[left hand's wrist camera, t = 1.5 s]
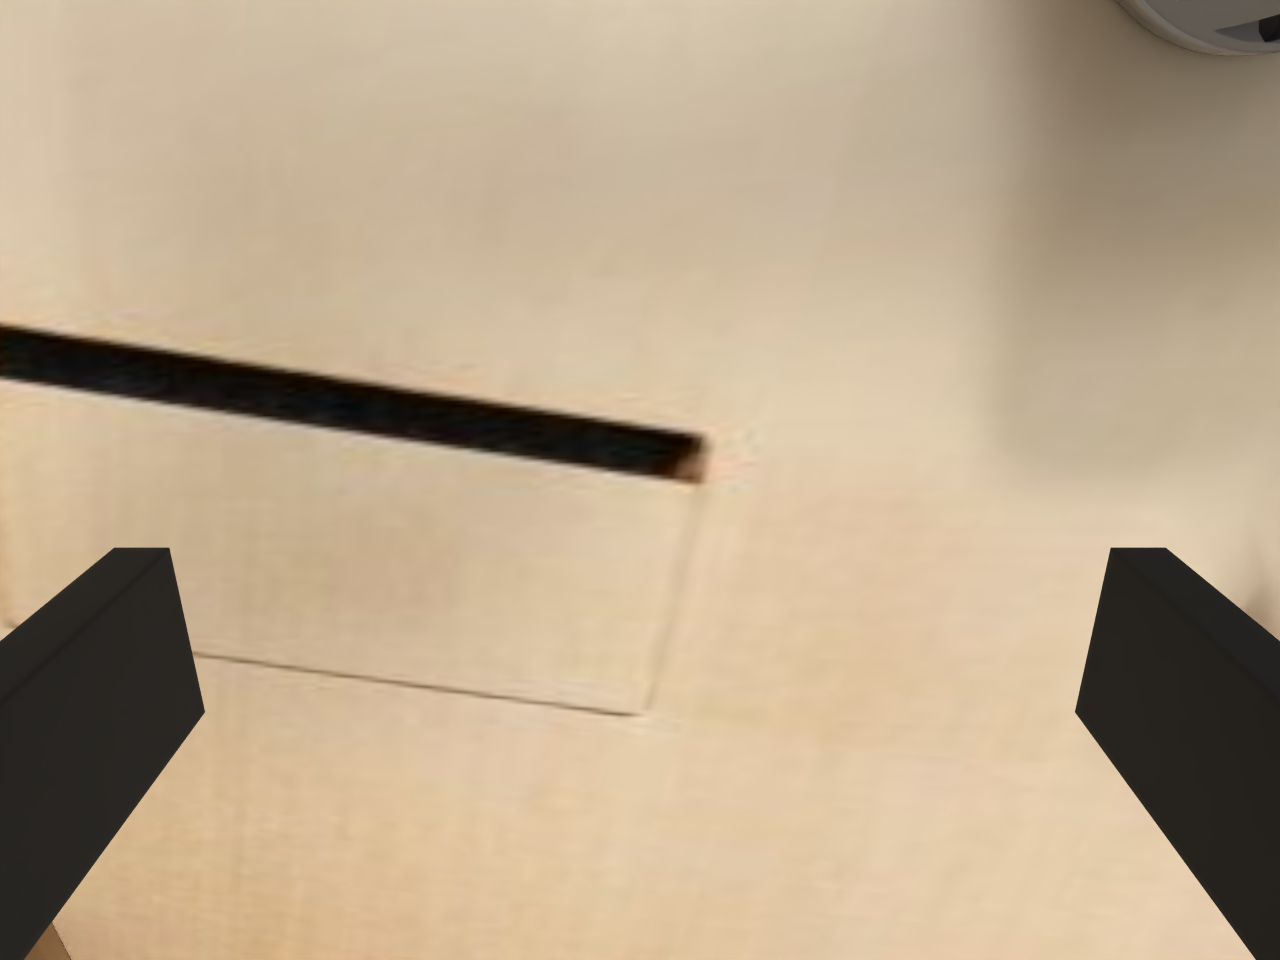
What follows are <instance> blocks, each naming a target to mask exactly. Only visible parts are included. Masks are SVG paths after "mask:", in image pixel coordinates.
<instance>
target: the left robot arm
mask: <svg viewBox="0 0 1280 960" xmlns="http://www.w3.org/2000/svg"><path fill="white" fill-rule="evenodd" d="M1116 1H1117V2H1118V3H1119V4H1120V5H1121V6H1122V7H1123V8H1124V10H1125V11H1126V12H1127V13H1128V14H1129V15H1130V16H1131V17H1132V18H1134V19H1135V20H1136V21H1137V22H1138V23H1139V24H1141V25H1142V26H1143V27H1144V28H1146V29H1147V30H1149V31H1150V32H1152V33H1154V34H1155V35H1157V36H1158V37H1160V38H1162V39H1164V40H1166V41H1168V42H1170V43H1172V44H1174V45H1177V46H1180V47H1183V48H1186V49H1189V50H1192V51H1197V52H1201V53H1206V54H1213V55H1224V56H1241V55H1254V54H1264V53H1273V52H1280V0H1116ZM204 713H205V710H204V705H203V701H202V696H201V691H200V687H199V682H198V678H197V673H196V668H195V664H194V659H193V655H192V650H191V646H190V641H189V636H188V632H187V627H186V623H185V618H184V613H183V609H182V604H181V600H180V595H179V590H178V586H177V581H176V577H175V572H174V567H173V563H172V558H171V554H170V549H169V548H113V549H112V550H111V551H110V552H108V553H107V554H106V555H105V556H104V557H102V558H101V559H100V560H99V561H97V562H96V563H95V564H94V565H93V566H91V567H90V568H89V569H88V570H87V571H85V572H84V573H83V574H82V575H80V576H79V577H78V578H77V579H76V580H74V581H73V582H72V583H71V584H69V585H68V586H67V587H66V588H65V589H63V590H62V591H61V592H60V593H58V594H57V595H56V596H55V597H54V598H52V599H51V600H50V601H49V602H48V603H46V604H45V605H44V606H43V607H41V608H40V609H39V610H38V611H37V612H35V613H34V614H33V615H32V616H30V617H29V618H28V619H27V620H26V621H24V622H23V623H22V624H21V625H19V626H18V627H17V628H16V629H15V630H13V631H12V632H11V633H10V634H8V635H7V636H6V637H5V638H4V639H2V640H1V641H0V960H24V959H25V958H26V956H27V955H28V954H29V952H30V951H31V950H32V948H33V947H34V945H35V944H36V943H37V941H38V940H39V939H40V937H41V936H42V935H43V933H44V932H45V930H46V929H47V928H48V926H49V925H50V924H51V922H52V921H53V919H54V918H55V917H56V915H57V914H58V913H59V911H60V910H61V908H62V907H63V906H64V904H65V903H66V902H67V900H68V899H69V898H70V896H71V895H72V893H73V892H74V891H75V889H76V888H77V887H78V885H79V884H80V882H81V881H82V880H83V878H84V877H85V876H86V874H87V873H88V872H89V870H90V869H91V867H92V866H93V865H94V863H95V862H96V861H97V859H98V858H99V856H100V855H101V854H102V852H103V851H104V850H105V848H106V847H107V846H108V844H109V843H110V841H111V840H112V839H113V837H114V836H115V835H116V833H117V832H118V830H119V829H120V828H121V826H122V825H123V824H124V822H125V821H126V819H127V818H128V817H129V815H130V814H131V813H132V811H133V810H134V809H135V807H136V806H137V804H138V803H139V802H140V800H141V799H142V798H143V796H144V795H145V793H146V792H147V791H148V789H149V788H150V787H151V785H152V784H153V783H154V781H155V780H156V778H157V777H158V776H159V774H160V773H161V772H162V770H163V769H164V767H165V766H166V765H167V763H168V762H169V761H170V759H171V758H172V757H173V755H174V754H175V752H176V751H177V750H178V748H179V747H180V746H181V744H182V743H183V741H184V740H185V739H186V737H187V736H188V735H189V733H190V732H191V730H192V729H193V728H194V726H195V725H196V724H197V722H198V721H199V720H200V718H201V717H202V715H203V714H204ZM1075 713H1076V714H1077V715H1078V717H1079V718H1080V720H1081V721H1082V722H1083V724H1084V725H1085V726H1086V728H1087V729H1088V730H1089V732H1090V733H1091V735H1092V736H1093V737H1094V739H1095V740H1096V741H1097V743H1098V744H1099V746H1100V747H1101V748H1102V750H1103V751H1104V752H1105V754H1106V755H1107V757H1108V758H1109V759H1110V761H1111V762H1112V763H1113V765H1114V766H1115V767H1116V769H1117V770H1118V772H1119V773H1120V774H1121V776H1122V777H1123V778H1124V780H1125V781H1126V783H1127V784H1128V785H1129V787H1130V788H1131V789H1132V791H1133V792H1134V793H1135V795H1136V796H1137V798H1138V799H1139V800H1140V802H1141V803H1142V804H1143V806H1144V807H1145V809H1146V810H1147V811H1148V813H1149V814H1150V815H1151V817H1152V818H1153V819H1154V821H1155V822H1156V824H1157V825H1158V826H1159V828H1160V829H1161V830H1162V832H1163V833H1164V835H1165V836H1166V837H1167V839H1168V840H1169V841H1170V843H1171V844H1172V846H1173V847H1174V848H1175V850H1176V851H1177V852H1178V854H1179V855H1180V856H1181V858H1182V859H1183V861H1184V862H1185V863H1186V865H1187V866H1188V867H1189V869H1190V870H1191V872H1192V873H1193V874H1194V876H1195V877H1196V878H1197V880H1198V881H1199V882H1200V884H1201V885H1202V887H1203V888H1204V889H1205V891H1206V892H1207V893H1208V895H1209V896H1210V898H1211V899H1212V900H1213V902H1214V903H1215V904H1216V906H1217V907H1218V908H1219V910H1220V911H1221V913H1222V914H1223V915H1224V917H1225V918H1226V919H1227V921H1228V922H1229V924H1230V925H1231V926H1232V928H1233V929H1234V930H1235V932H1236V933H1237V935H1238V936H1239V937H1240V939H1241V940H1242V941H1243V943H1244V944H1245V945H1246V947H1247V948H1248V950H1249V951H1250V952H1251V954H1252V955H1253V956H1254V958H1255V959H1256V960H1280V641H1279V640H1278V639H1276V638H1275V637H1274V636H1273V635H1272V634H1270V633H1269V632H1268V631H1267V630H1265V629H1264V628H1263V627H1262V626H1261V625H1259V624H1258V623H1257V622H1256V621H1254V620H1253V619H1252V618H1251V617H1250V616H1248V615H1247V614H1246V613H1245V612H1243V611H1242V610H1241V609H1240V608H1239V607H1237V606H1236V605H1235V604H1234V603H1232V602H1231V601H1230V600H1229V599H1228V598H1226V597H1225V596H1224V595H1223V594H1222V593H1220V592H1219V591H1218V590H1217V589H1215V588H1214V587H1213V586H1212V585H1211V584H1209V583H1208V582H1207V581H1206V580H1204V579H1203V578H1202V577H1201V576H1200V575H1198V574H1197V573H1196V572H1195V571H1193V570H1192V569H1191V568H1190V567H1189V566H1187V565H1186V564H1185V563H1184V562H1183V561H1181V560H1180V559H1179V558H1178V557H1176V556H1175V555H1174V554H1173V553H1172V552H1170V551H1169V550H1168V549H1167V548H1111V549H1110V554H1109V558H1108V563H1107V567H1106V572H1105V577H1104V581H1103V586H1102V590H1101V595H1100V600H1099V604H1098V609H1097V613H1096V618H1095V623H1094V627H1093V632H1092V636H1091V641H1090V646H1089V650H1088V655H1087V659H1086V664H1085V669H1084V673H1083V678H1082V682H1081V687H1080V691H1079V696H1078V701H1077V705H1076V710H1075Z"/></svg>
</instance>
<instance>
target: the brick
mask: <svg viewBox="0 0 1280 960" xmlns="http://www.w3.org/2000/svg"><path fill="white" fill-rule="evenodd" d="M24 960H70V958H69V956H68V954H67V952H66V950H65V948H64V946H63V944H62V942H61V940H60V938H59V936H58V934H57V932H56V930H55V928H54V927H53V925H52V923H51V924H50V925H49V926H48V928H47V929H46V930H45V932H44V933H43V935H42V936H41V937H40V939H39V940H38V941H37V943H36V944H35V945H34V947H33V948H32V950H31V951H30V952H29V954H28V955H27V956H26V958H25V959H24Z"/></svg>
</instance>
